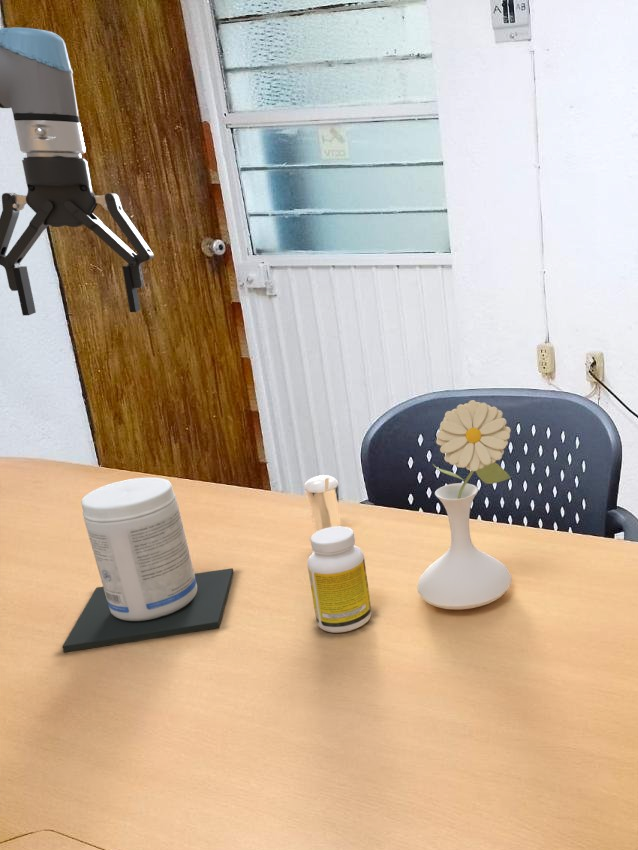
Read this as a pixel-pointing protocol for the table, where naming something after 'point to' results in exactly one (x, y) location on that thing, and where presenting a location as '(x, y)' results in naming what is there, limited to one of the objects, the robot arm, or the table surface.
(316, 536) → the pill bottle
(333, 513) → the milkshake
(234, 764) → the table surface
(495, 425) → the flower in vase
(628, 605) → the table surface
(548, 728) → the table surface
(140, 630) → the mat
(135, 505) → the supplement tub
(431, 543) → the table surface
